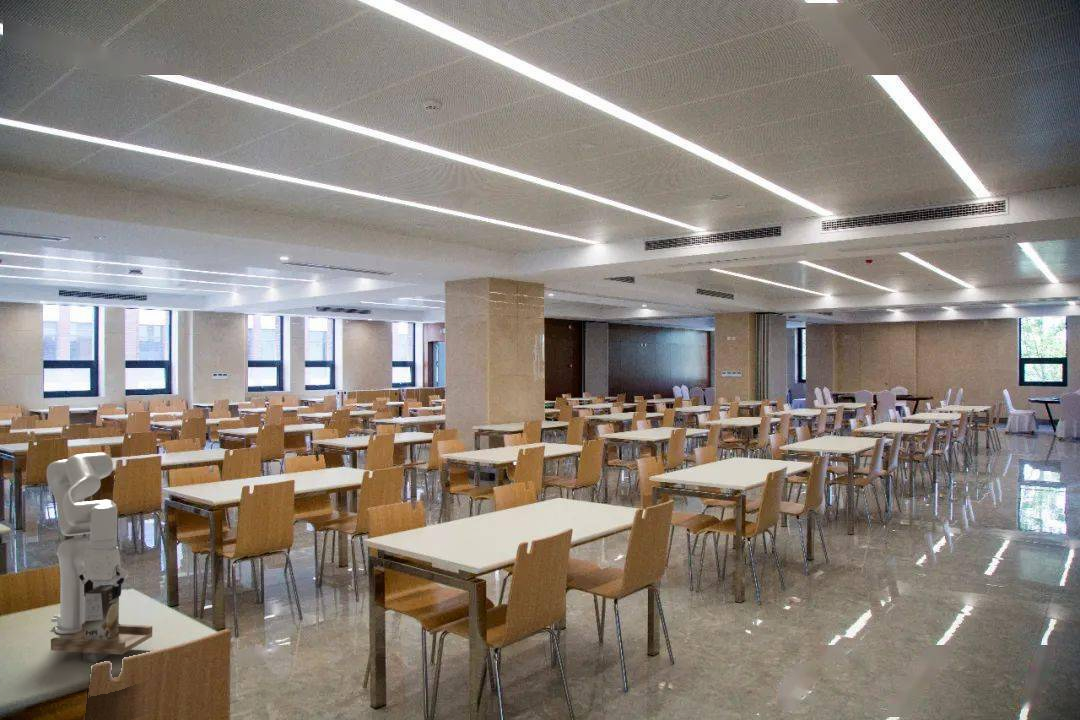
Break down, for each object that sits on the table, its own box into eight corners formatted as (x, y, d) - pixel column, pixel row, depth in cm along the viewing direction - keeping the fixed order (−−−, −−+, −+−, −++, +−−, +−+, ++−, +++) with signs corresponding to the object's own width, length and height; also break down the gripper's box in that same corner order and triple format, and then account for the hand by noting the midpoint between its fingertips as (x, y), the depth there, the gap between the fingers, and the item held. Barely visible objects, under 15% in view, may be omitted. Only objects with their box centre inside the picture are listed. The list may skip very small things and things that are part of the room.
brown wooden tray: (50, 661, 234) (50, 638, 234) (85, 643, 249) (85, 621, 249) (121, 665, 231) (122, 642, 231) (152, 647, 246) (152, 625, 246)
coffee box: (105, 643, 236) (105, 593, 236) (83, 644, 235) (84, 593, 235) (119, 633, 245) (119, 584, 245) (99, 633, 244) (99, 584, 244)
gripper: (70, 545, 237) (69, 598, 238) (120, 548, 235) (119, 602, 236) (86, 538, 245) (86, 590, 245) (136, 542, 243) (135, 594, 243)
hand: (102, 596), depth 241 cm, fingers open, 9 cm apart
